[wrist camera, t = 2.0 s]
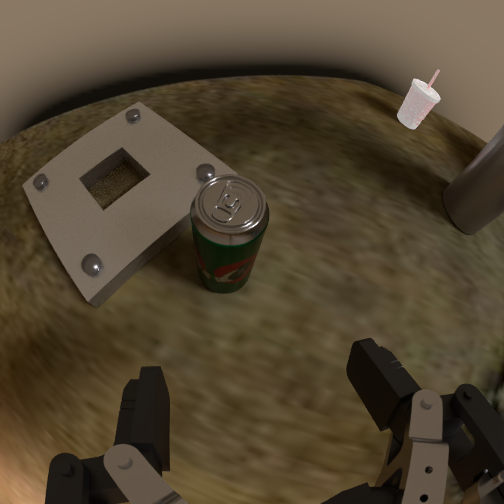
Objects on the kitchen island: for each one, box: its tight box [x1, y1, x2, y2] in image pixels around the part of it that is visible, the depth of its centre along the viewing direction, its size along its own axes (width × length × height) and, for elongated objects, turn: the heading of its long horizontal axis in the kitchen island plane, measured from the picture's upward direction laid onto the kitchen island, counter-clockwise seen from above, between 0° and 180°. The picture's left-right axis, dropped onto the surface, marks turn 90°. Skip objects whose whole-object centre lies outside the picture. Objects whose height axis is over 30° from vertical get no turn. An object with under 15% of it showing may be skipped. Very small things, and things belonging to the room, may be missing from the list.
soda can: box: [190, 174, 269, 293], centre depth 22 cm, size 5×5×12 cm
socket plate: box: [22, 102, 238, 308], centre depth 28 cm, size 20×20×3 cm
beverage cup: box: [397, 69, 440, 129], centre depth 38 cm, size 6×6×14 cm
